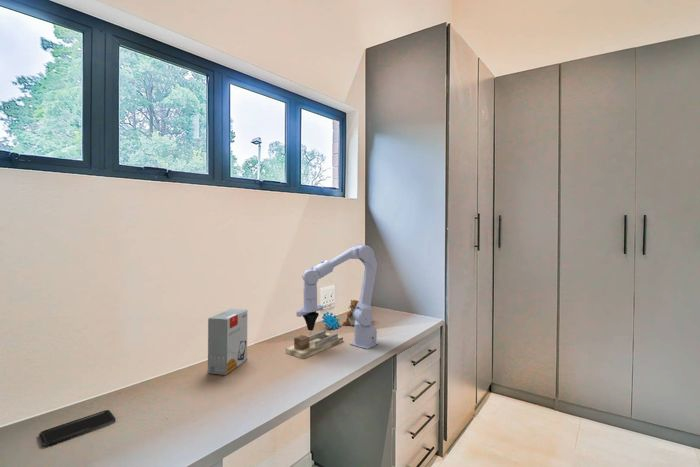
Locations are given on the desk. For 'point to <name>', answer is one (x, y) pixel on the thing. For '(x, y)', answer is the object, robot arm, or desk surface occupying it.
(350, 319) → the stuffed squirrel
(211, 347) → the hard drive box
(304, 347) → the walnut cube
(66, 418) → the desk surface
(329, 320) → the gear
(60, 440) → the phone
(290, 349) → the channel board
